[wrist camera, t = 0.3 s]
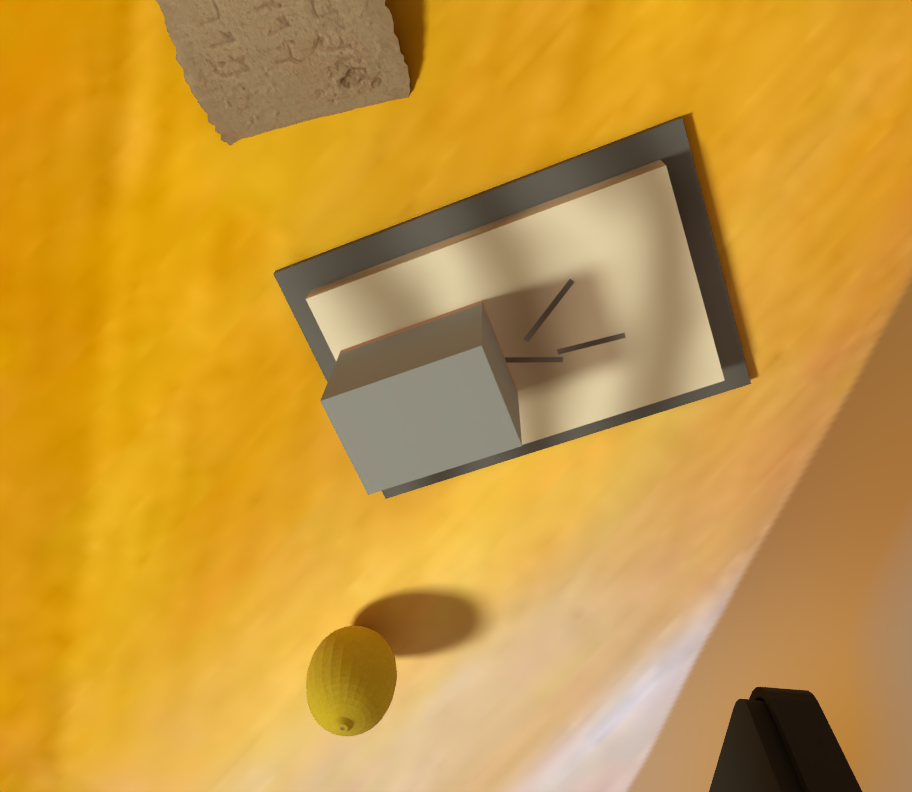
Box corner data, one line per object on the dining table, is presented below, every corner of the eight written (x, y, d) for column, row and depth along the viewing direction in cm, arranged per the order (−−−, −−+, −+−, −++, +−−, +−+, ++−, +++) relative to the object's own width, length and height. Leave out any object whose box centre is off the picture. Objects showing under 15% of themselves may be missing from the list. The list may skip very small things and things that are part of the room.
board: (386, 494, 50) (383, 512, 48) (275, 271, 44) (266, 282, 42) (748, 379, 46) (759, 395, 44) (680, 116, 40) (689, 122, 38)
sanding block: (381, 435, 46) (368, 494, 41) (340, 350, 44) (320, 400, 38) (517, 390, 45) (522, 445, 39) (482, 300, 42) (481, 345, 37)
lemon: (418, 641, 55) (408, 739, 48) (353, 676, 57) (334, 775, 50) (367, 587, 53) (349, 680, 46) (302, 624, 55) (274, 719, 48)
